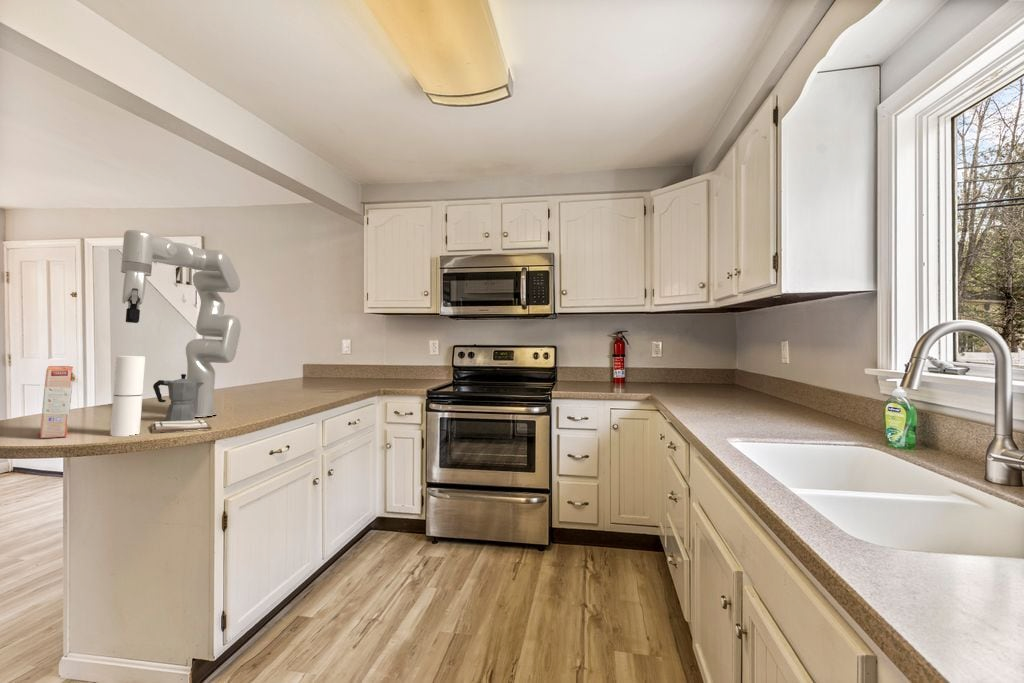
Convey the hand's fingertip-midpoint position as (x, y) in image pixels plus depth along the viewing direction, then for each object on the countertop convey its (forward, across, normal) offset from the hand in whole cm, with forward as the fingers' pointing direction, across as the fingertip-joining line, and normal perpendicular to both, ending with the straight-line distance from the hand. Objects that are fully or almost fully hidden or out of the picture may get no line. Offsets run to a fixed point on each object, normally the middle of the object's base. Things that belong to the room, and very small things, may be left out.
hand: (132, 322), depth 144 cm
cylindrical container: (+36, 0, +1) cm, 36 cm away
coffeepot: (+36, -22, +15) cm, 45 cm away
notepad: (+36, -6, +15) cm, 39 cm away
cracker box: (+36, -7, -16) cm, 40 cm away
